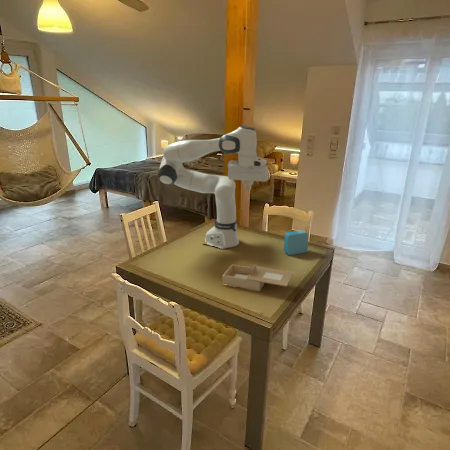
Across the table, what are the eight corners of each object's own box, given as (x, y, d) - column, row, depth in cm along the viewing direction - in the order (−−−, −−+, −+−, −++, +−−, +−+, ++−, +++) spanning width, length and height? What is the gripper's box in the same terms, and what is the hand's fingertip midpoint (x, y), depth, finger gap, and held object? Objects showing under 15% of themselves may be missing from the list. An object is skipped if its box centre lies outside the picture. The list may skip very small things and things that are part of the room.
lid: (246, 279, 157) (246, 272, 156) (255, 267, 168) (255, 260, 166) (286, 286, 150) (286, 279, 149) (293, 273, 161) (293, 266, 159)
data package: (303, 249, 197) (304, 229, 193) (307, 252, 193) (308, 232, 189) (283, 252, 194) (284, 232, 190) (287, 255, 190) (287, 235, 186)
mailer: (222, 284, 164) (222, 275, 162) (232, 273, 174) (232, 264, 172) (259, 291, 157) (259, 282, 155) (267, 279, 167) (267, 269, 165)
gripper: (225, 161, 169) (226, 189, 174) (265, 163, 161) (265, 192, 166) (230, 159, 175) (230, 186, 179) (269, 160, 167) (269, 188, 172)
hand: (248, 189), depth 173 cm, fingers closed
